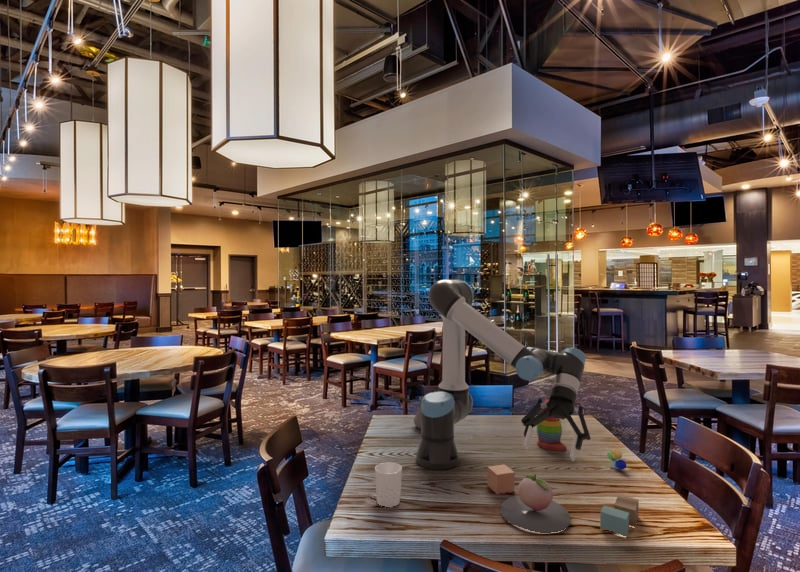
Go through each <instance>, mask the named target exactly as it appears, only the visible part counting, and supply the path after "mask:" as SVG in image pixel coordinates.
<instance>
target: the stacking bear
mask: <svg viewBox="0 0 800 572" xmlns="http://www.w3.org/2000/svg"><path fill="white" fill-rule="evenodd" d="M548 401H549V399H548V398H545V399H544V402H548ZM546 408H547V406H545V407H544V409H543V408H542V410H541V413H542V412H543V411H544V410H545V409H546ZM548 413H550V412H548ZM561 422H562V421H561V419H560V418H553V417H550V418H547V419H546V420H544V421H543V422H541V423H539V424H538V425H536V433H537V434H536V435H537V438H538V439H537V442H536V445H537V446H538V447H539V448H541V447H542V449H544V448H545V450H549V451H558V452H559V451H563V452H564V451H566V450H567V445H565V444H564V443H563V442H562V441H561V439H562V434H563V427H562V423H561Z"/></svg>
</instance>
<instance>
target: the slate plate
mask: <svg viewBox="0 0 800 572" xmlns="http://www.w3.org/2000/svg"><path fill="white" fill-rule="evenodd" d="M500 506H501V507H500V513H502V514H501V517H502V516H503V517H504V518H505V519H506V520H507V521H509V522H510V523H512V524H514V525H517V526H519V527H522V528H524V529H528V530H530V531H535V532H540V533H551V532H558V531H561V530H564V529H565V528H567V527H568V526H569V527H570V525H571V515H570V513H569V512H568V510H567V509H566V508H565V507H564V506H562V505H561V504H559V503H558V502H556V501H554V500H552V502H551V503H550V505H549V506H548V507H547V508H545V509H543V510H539V511H534V509H532V508H530V507H528V506H526V505H525V504H524V503H523V502H522V501H521V499H520V496H519V495H515V496H510V497H509V498H507V499H505V500H503V502H502V503H501V505H500ZM503 517H502V518H503ZM504 518H503V519H504ZM505 519H504V520H505ZM569 524H570V525H569ZM569 527H568V528H569ZM568 528H567V529H568Z"/></svg>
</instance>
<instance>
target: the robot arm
mask: <svg viewBox="0 0 800 572" xmlns="http://www.w3.org/2000/svg"><path fill="white" fill-rule="evenodd" d="M474 296H475V295H474V290H473V288H472V287H471V285H470V284H469V283H467V281H464V280H462V279H455V278H454V279H440V280H437V281H436V282H434V283H433V284H432V285H431V287H430V288H429V291H428V301H429V304H430V306H431V307H432V308H433V310H435V311H436V312H437V313H438V315H439V317H441V319H442V374H441V376H442V380H441V381H440V383H439V384H438V388H437V390H438V391H434V392H428V393H426V394H425V395H424V397H423V396H422V397H423V399H422V405H421V429H420V431H421V433H420V434H421V437H420V442H419V445H418V447H417V451H416V456H415V457H416V459H415V461H416V463H417V465H419V466H421V467H422V468H426V469H428V470H438V471H439V470H449V469H453V468H455V467H457V466H458V465H459V464H460V456H459V452H458V449H457V445H456V442H455V425H456V424H457V423H460V421H462V420H465V418H466V417H468V415H469V414H470V413H471V411H472V409H473V405H474V404H473V403H474V399H473V397H472V394H471V393H470V388H469V387H470V385H468V384H467V382H466V331H467V332H468V333H469V334H470V335H471V336H473V337H474V338H476V339H477V340H478V341H479V342H480V343H482V344H483V345H484V346H486V347H487V349H489V350H491V351H492V352H493V353H495V354H496V355H497V356H499V358H501V359H502V360H503V361H505V362H506V363H507V364H509V365H510V366H512V368H513V369H515V372H516V374H517V376H518V377H519V378H520V379H522V380H525V381H534V380H537V379H538V378H540V377H541V376H542V374H544V373H546V374H549V375H550V374H551V375H555V378H554V382H553V384H552V389H551V393H550V396H549V399H548V400H549V401H548V402H544V401H545V400H544V401H543V399H542V398H539V399H538V400H537V402H536V404H535V405H534V406H533V407H532V408H531V409H530V410H529V411H528V412H527V413H526V415H524V416H523V418H521V420H520V421H521V423H522V426H523V427H524V432H523V436H524V438H525V439H524V441H523V447H524V449H525V450H529V446H530V444H531V441H532V437H533V434H534V429H533V428H534V427H537V425H538V424H539V423H541V422H543V421H544V420H546V419H547V418H550V417H553V418H560V420H565V419H566V420H567V422H568V423H569V425H570V426H571V428H572V430H573V432H574V434H576V435H574V436H573V441H572V445H571V449H570V454H569V458H570V460H571V461H572V462H575V460H576V456H577V451H581V449H582V446H583V443H584V440H587V441H590V440H591V435H590V433H589V429H588V425H587V422H586V420H585V410H584V407H583V406H582V405H579V406H578V407H575V404H576V400H577V397H578V396H577V395H578V392H579V389H580V385H581V381H582V376H583V373H584V371H585V370H584V369H585V365H586V359H587V358H586V354H585V353H584V352H583V351H582V350H581V349H579V348H575V347H566V348H564V350H562V352H556V351H552V350H546V349H543V348H538V347H531V346H527V347H526V346H525V345H523V344H522V343H521V342H520V341H518V340H516V339H515V338H514V337H513V336H512V335H510V334H508V333H507V332H506V331H505V330H503V329H502V328H500V327H499V326H498V325H497V324H495V323H494V322H493V321H491V320H490V319H488V318H487V317H486V316H485V315H483V314H482V313H481V312H479V311H478V310H477V309H475V308H474V307H473V306H471V305H472V304H473V302H474V299H475V298H474ZM545 406H547V408H546V409H545V410H544V411H543V412H542V408H543V409H544V407H545ZM540 412H541V413H540ZM548 412H550V413H548ZM574 413H576V415H577V416H578V418H579V421H580V424H581V427H582V429H583V433H582V431H581V430H580V429H579V427H578V425H577V423H576V422H575V421H574V419H573V416H571V415H572V414H574Z"/></svg>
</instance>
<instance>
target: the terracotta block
mask: <svg viewBox="0 0 800 572" xmlns="http://www.w3.org/2000/svg"><path fill="white" fill-rule="evenodd" d="M515 473H516V472H515V471H513V469H511V467H509V466H507V465H506V464H498V465H489V466H487V473H486V474H487V475H486V476H487V478H486V479H487V482H486V483H487V484H486V485H487V487H488V488H490V489H491V490H492V491H493V492H494V493H495V494H496V495H501V494H500V493H502V494H507V493H506V492H508V493H513V492H512V491H515V480H516V477H515V475H516V474H515Z"/></svg>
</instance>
